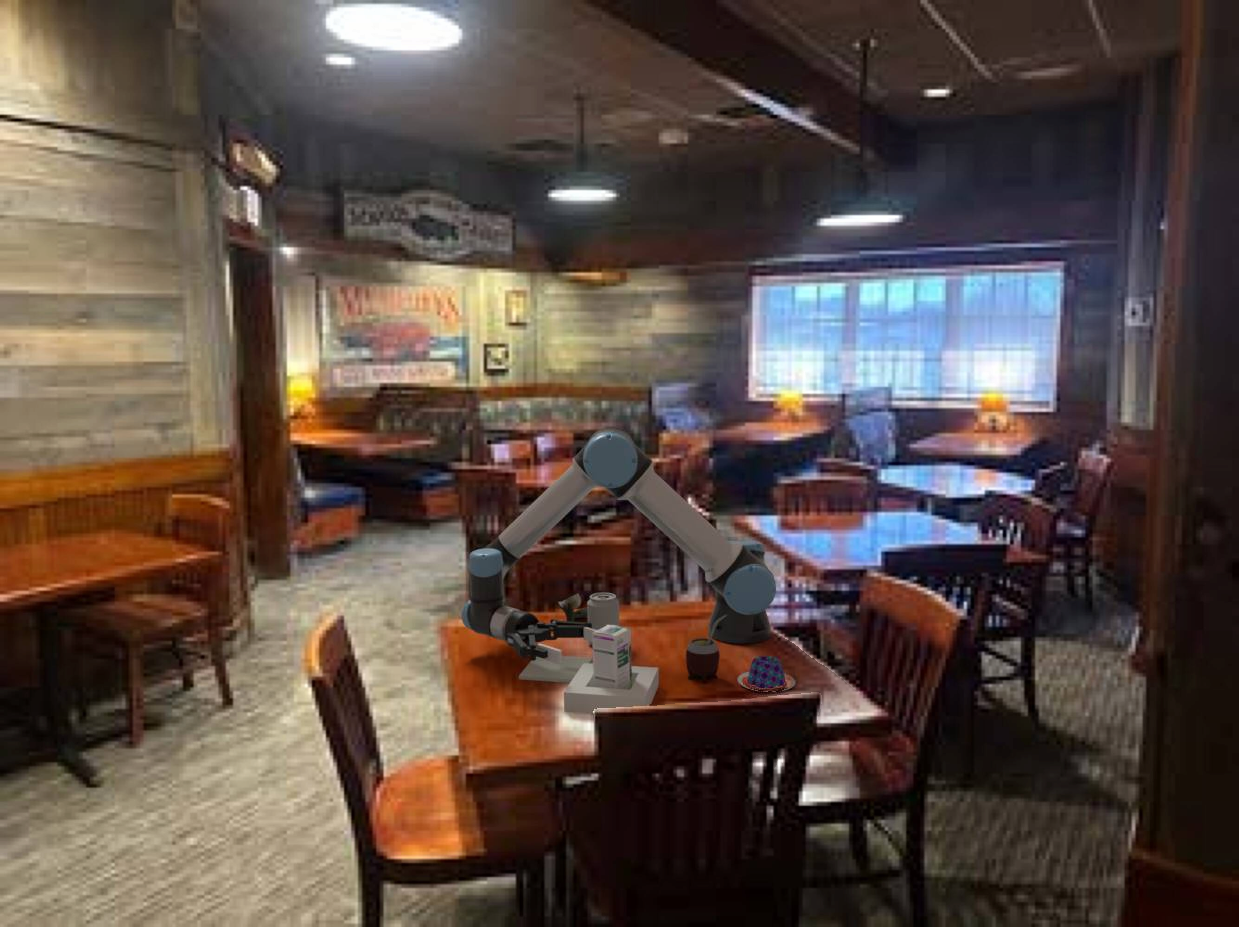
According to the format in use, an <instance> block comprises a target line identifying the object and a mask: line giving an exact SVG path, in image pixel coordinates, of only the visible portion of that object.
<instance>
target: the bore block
mask: <svg viewBox="0 0 1239 927" xmlns="http://www.w3.org/2000/svg"><path fill="white" fill-rule="evenodd" d="M658 689H659V667H650V666H636V665H632V687H631V689H630V690H626V689H612V688H598V687H594V672H593V662H592V663H583V665H582V666H581V668H580V669H579V671H578V672H577V674H576V675H575V677H574V678H573V679H572V681H571V682H570V683H569V684H568V685H567V687H566V688H565V690H563V712H564V713H574V714H589V715H594V714H593V711H594V709H597V708H616V707H633V706H647V705H650V704H651V705H652V702H653V700H654V698H655V697H656V696H655V695H656V694H657V691H658ZM651 705H650V706H651Z"/></svg>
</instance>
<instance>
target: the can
mask: <svg viewBox="0 0 1239 927" xmlns="http://www.w3.org/2000/svg"><path fill="white" fill-rule="evenodd" d="M586 604H587V607H586V608H587V609H588V617H587V622H588V623H592V629H595V630H599V629H601V628H603V627H605V626H606V625H617V626H620V601H619V600H618V599H617V595H616V594H614V593H611V592H595V593H593V594H591V595H589V600H588V601H587V602H586ZM587 642H588V644H590V646H592V647H593V642H589V641H587Z"/></svg>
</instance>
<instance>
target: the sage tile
mask: <svg viewBox="0 0 1239 927" xmlns="http://www.w3.org/2000/svg"><path fill="white" fill-rule="evenodd" d="M583 663H593V657H583V656H581V657H580V656H567V655H566V656H565V655H562V664H557V663H554V662H551V661H548V660H545V659H542V658H539V657H537V656H536V660H535V661H531V660H530V661H529V663H528V664H527V666H526V667H525V668H524V669H523V670H522V671H521V672H520V673H519V675H518V680H524V681H525V680H526V681H539V682H555V683H566V684H568V683H569V684H570V682H571V681H572V679H573V678H574V677H575V675H576V674H577V672H578V671H579V669H580V668H581V666H582V665H583Z"/></svg>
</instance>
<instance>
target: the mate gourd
mask: <svg viewBox="0 0 1239 927" xmlns="http://www.w3.org/2000/svg"><path fill="white" fill-rule="evenodd" d="M726 616H727V615H725V616H723V617H721V618H719V619H718V620H717V621H716V622H714V624H713V626H712V627H713V628H712V631H711V633H710V635H709V636H708V638H705V637H704V638H703V637H701V638H699V637H698V638H694V639H692V640H691V641H690V642H689V643H688V645H687V647H686V651H685V662H686V669H687V672H688V676H687V678H688V680H701V682H702V683H703V684H704V685H705V684H708V681H707V679H709V678H712V679H717V678H718V675H717V673H718V669H719V664H720V657H721V656H720V651H719V647H718V645H717V643H716V642H715V640H713V638H712V635H713V633H714V630H715V628H716V626H717V623H718V622H719V621H721V620H722V619H723V618H725V617H726Z"/></svg>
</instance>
